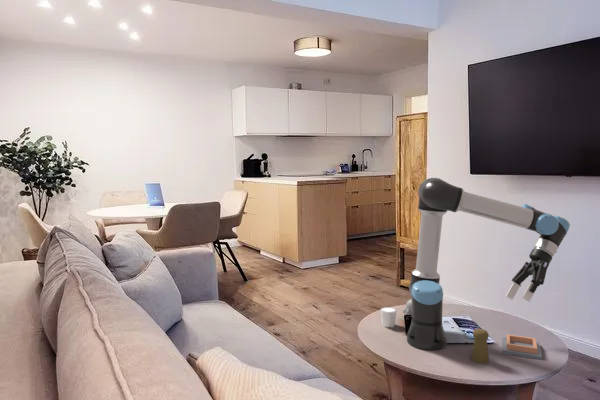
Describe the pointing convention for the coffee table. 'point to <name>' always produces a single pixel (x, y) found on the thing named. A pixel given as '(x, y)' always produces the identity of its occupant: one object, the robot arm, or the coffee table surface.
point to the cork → (480, 346)
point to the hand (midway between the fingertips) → (517, 298)
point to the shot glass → (388, 316)
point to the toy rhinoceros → (408, 308)
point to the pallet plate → (521, 346)
